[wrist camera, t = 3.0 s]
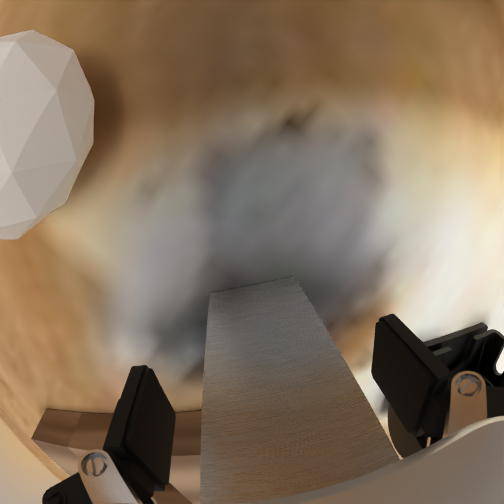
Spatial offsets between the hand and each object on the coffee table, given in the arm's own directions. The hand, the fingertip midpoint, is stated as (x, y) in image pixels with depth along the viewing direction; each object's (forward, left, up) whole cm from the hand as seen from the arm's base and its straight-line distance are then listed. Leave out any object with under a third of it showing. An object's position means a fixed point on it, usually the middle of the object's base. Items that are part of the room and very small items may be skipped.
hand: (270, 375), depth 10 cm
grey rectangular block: (0, 0, -4) cm, 4 cm away
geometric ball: (-11, -8, -4) cm, 14 cm away
